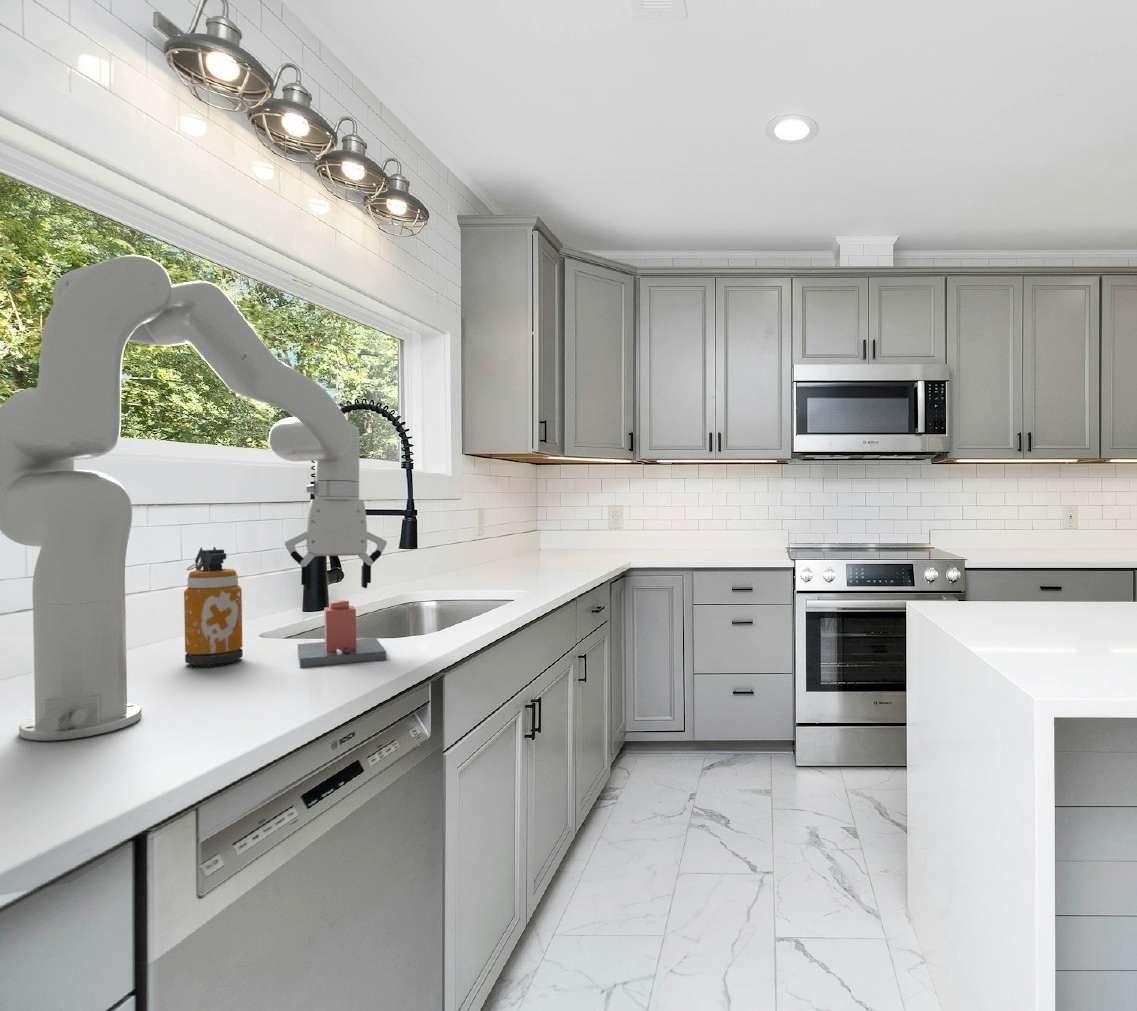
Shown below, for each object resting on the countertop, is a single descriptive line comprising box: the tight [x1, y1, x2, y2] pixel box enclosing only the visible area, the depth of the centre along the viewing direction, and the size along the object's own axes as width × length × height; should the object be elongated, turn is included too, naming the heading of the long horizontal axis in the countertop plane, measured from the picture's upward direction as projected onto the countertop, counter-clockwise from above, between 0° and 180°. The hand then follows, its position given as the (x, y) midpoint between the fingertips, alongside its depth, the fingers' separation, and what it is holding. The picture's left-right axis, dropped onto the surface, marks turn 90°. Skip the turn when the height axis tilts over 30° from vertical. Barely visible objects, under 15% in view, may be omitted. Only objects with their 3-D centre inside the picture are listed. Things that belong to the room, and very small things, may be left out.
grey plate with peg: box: [297, 637, 387, 669], centre depth 130 cm, size 14×14×6 cm
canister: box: [183, 546, 244, 668], centre depth 127 cm, size 9×11×20 cm
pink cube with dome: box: [323, 600, 357, 651], centre depth 131 cm, size 5×5×8 cm
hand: (336, 588), depth 130 cm, fingers open, 9 cm apart
